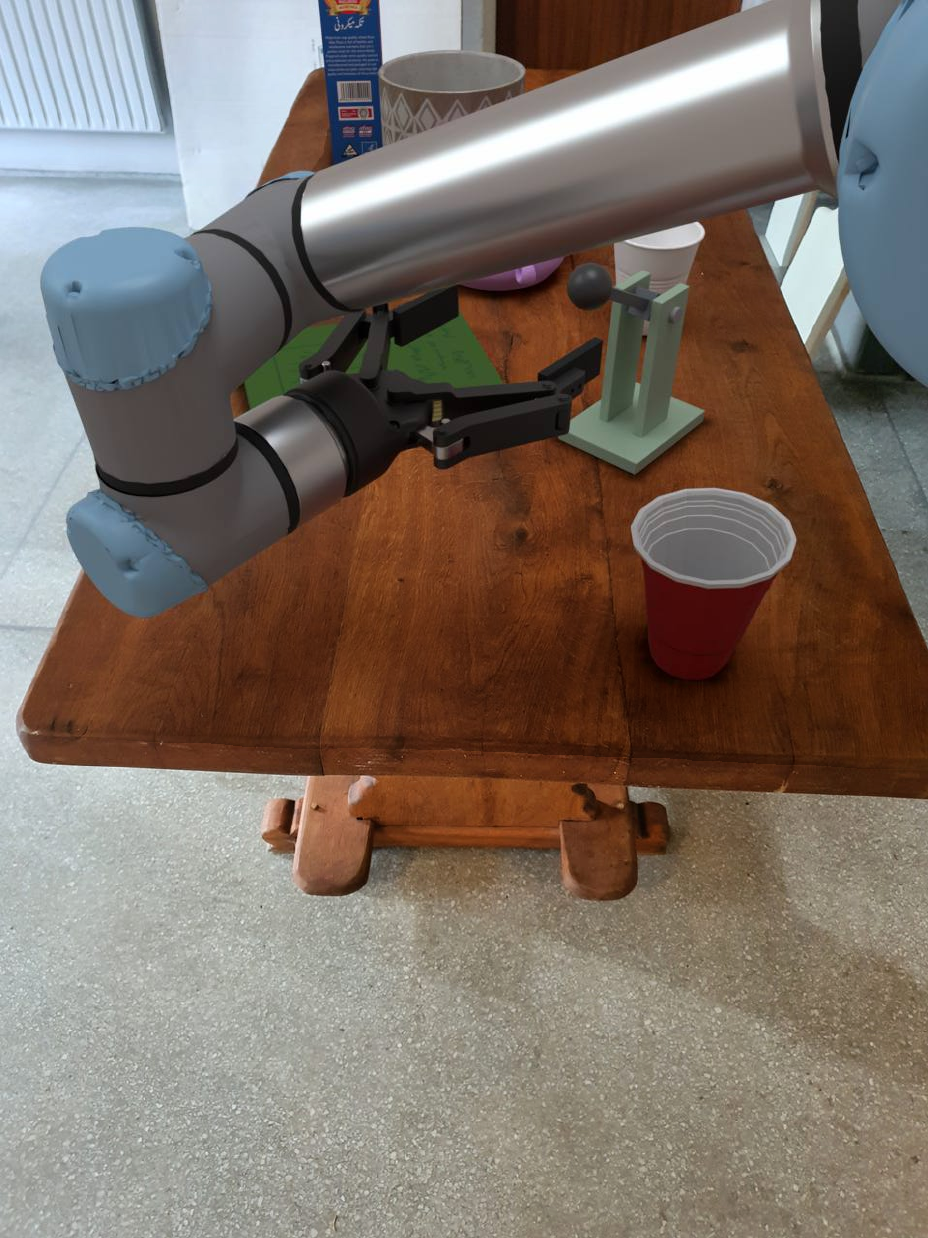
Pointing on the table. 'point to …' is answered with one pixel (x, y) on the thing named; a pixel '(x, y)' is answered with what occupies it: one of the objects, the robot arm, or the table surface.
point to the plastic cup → (706, 573)
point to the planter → (442, 88)
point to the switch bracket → (638, 386)
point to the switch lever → (606, 291)
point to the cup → (659, 257)
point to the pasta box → (352, 75)
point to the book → (427, 359)
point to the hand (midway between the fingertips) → (523, 325)
